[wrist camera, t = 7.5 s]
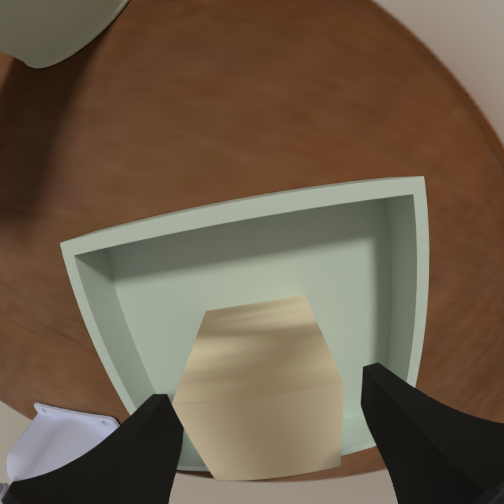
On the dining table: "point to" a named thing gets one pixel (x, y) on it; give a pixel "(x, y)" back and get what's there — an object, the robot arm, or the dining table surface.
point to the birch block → (262, 392)
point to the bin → (261, 284)
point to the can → (52, 27)
